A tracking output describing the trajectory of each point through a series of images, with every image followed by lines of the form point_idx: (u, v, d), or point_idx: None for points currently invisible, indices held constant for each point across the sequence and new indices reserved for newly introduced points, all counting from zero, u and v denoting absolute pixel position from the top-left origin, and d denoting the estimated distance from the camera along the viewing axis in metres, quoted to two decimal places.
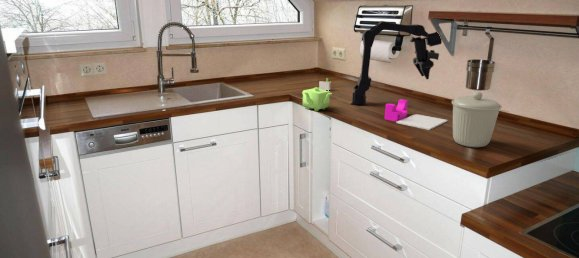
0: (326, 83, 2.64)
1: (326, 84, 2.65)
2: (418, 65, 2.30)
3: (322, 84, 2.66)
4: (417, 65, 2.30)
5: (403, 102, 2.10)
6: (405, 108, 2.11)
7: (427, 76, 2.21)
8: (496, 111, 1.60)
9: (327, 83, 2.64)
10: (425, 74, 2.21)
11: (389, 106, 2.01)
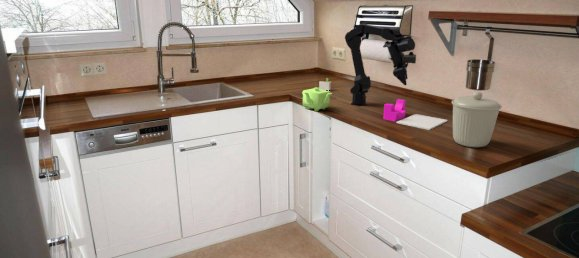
0: (326, 83, 2.64)
1: (326, 84, 2.65)
2: None
3: (322, 84, 2.66)
4: None
5: (401, 102, 2.10)
6: (403, 108, 2.11)
7: (404, 82, 2.09)
8: (496, 111, 1.60)
9: (327, 83, 2.64)
10: (401, 80, 2.08)
11: (388, 106, 2.01)
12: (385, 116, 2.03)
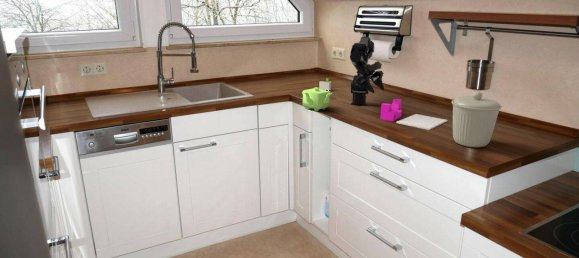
0: (327, 83, 2.64)
1: (326, 84, 2.65)
2: (375, 81, 2.18)
3: (322, 84, 2.66)
4: (374, 81, 2.18)
5: (397, 101, 2.11)
6: (399, 107, 2.12)
7: (371, 90, 2.09)
8: (496, 111, 1.60)
9: (327, 83, 2.64)
10: (368, 89, 2.09)
11: (385, 106, 2.02)
12: (382, 116, 2.04)
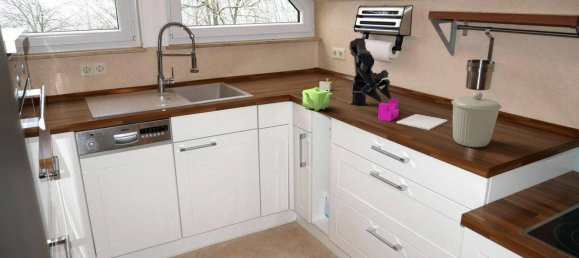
0: (327, 83, 2.64)
1: (326, 84, 2.65)
2: (381, 89, 2.17)
3: (323, 84, 2.66)
4: (381, 90, 2.17)
5: (394, 101, 2.12)
6: (396, 107, 2.12)
7: (378, 99, 2.07)
8: (496, 111, 1.60)
9: (327, 83, 2.64)
10: (375, 98, 2.08)
11: (382, 105, 2.02)
12: (380, 115, 2.04)
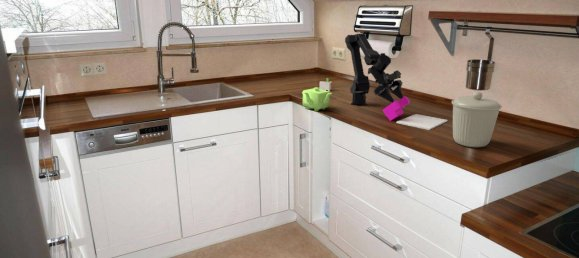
0: (327, 83, 2.64)
1: (326, 84, 2.65)
2: (393, 90, 2.12)
3: (323, 84, 2.66)
4: (393, 91, 2.12)
5: (406, 102, 2.08)
6: (403, 106, 2.10)
7: (391, 100, 2.03)
8: (496, 111, 1.60)
9: (327, 83, 2.64)
10: (387, 99, 2.03)
11: (395, 105, 1.98)
12: (386, 110, 2.01)
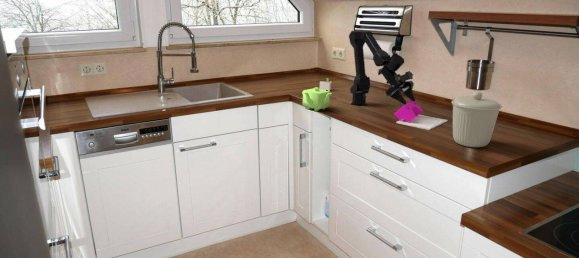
0: (327, 83, 2.64)
1: (326, 84, 2.65)
2: (405, 91, 2.08)
3: (323, 84, 2.66)
4: (404, 92, 2.08)
5: (416, 114, 2.07)
6: None
7: (403, 101, 1.99)
8: (496, 111, 1.60)
9: (327, 83, 2.64)
10: (399, 100, 1.99)
11: (410, 119, 1.96)
12: (404, 109, 1.96)
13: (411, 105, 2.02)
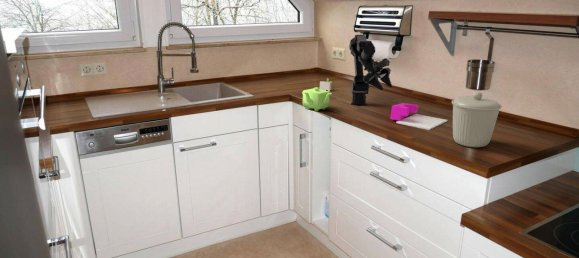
0: (327, 83, 2.64)
1: (327, 84, 2.64)
2: (382, 78, 2.15)
3: (323, 84, 2.66)
4: (381, 79, 2.16)
5: (414, 110, 2.07)
6: None
7: (380, 87, 2.06)
8: (496, 111, 1.60)
9: (328, 83, 2.64)
10: (376, 86, 2.06)
11: (405, 112, 1.96)
12: (395, 108, 1.99)
13: (401, 105, 2.05)
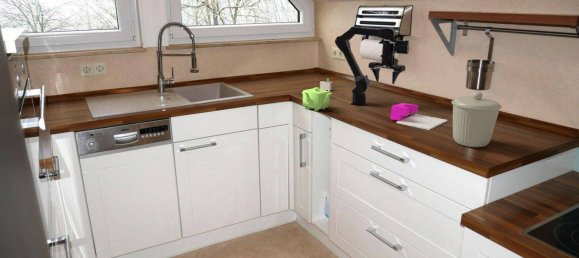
0: (327, 83, 2.64)
1: (327, 84, 2.64)
2: (376, 69, 2.24)
3: (323, 84, 2.66)
4: (375, 70, 2.23)
5: (414, 110, 2.07)
6: None
7: (394, 81, 2.20)
8: (496, 111, 1.60)
9: (328, 83, 2.64)
10: (394, 79, 2.18)
11: (405, 112, 1.96)
12: (395, 108, 1.99)
13: (401, 105, 2.05)
